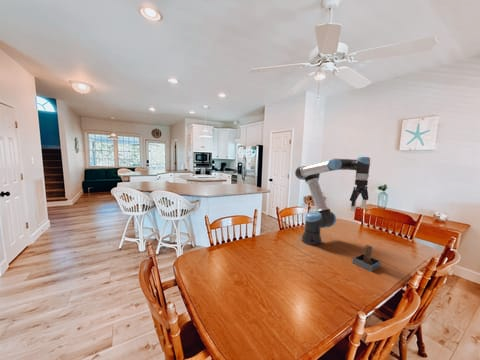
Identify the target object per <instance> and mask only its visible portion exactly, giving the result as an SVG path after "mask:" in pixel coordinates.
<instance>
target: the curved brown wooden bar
mask: <svg viewBox="0 0 480 360" xmlns="http://www.w3.org/2000/svg"><path fill="white" fill-rule="evenodd" d="M364 247H365V248H364V253H363V254H364V262H366V263H368V264H370V260H371V257H372V250H373V246H371V245H369V244H365V246H364Z"/></svg>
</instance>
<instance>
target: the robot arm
mask: <svg viewBox="0 0 480 360" xmlns="http://www.w3.org/2000/svg"><path fill="white" fill-rule="evenodd" d="M370 165H371V158H370V157H369V156H358V157H357V159H349V158H331V159H329V160H326V161H323V162H319V163H315V164H311V165H303V166H297V168H296V169H295V172H294V173H295V175H294V176H296V178H297V179H299V180H304V182H305V184H307V185H308V188H309V191H310V194H311V197H312V200H313V203H314V206H315V209H316V210H315V211H309V212H307V213H306V215H305V223H304V224H305V225H304V232H303V234H302V236H301V242H303V243H304V244H306V245H311V246H320V245H322V242H323V241H322V240H323V239H322V235H321V229H322V228H323V229H324V228H330V227H333V226H335V224H336V222H337V216H336V214H335V213H333V212H331V209H330V208H329V207H327V202H326V200H325V198H324V195H323V191H322V189H321V186H320V182H319V180H320V176H321V174H322V173H328V172H334V171H339V170H345V171H355V179H354V185H355V186H353V189H352V192H351V195H350V198H349V201H350V202H351V204H350V205H351V206H350V211H352V212H356V208H357V207H356V206H357V200H358V198H359V196H360V195H361V198H362V199H361V205H360V209H363V210H366V207H367V201H369V192H368V191H369V190H368V184H369V183H368V180H369V177H370V175H369V174H370V167H371V166H370Z"/></svg>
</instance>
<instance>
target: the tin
mask: <svg viewBox="0 0 480 360" xmlns="http://www.w3.org/2000/svg"><path fill="white" fill-rule="evenodd" d="M364 254H365V253H361V254H358V255H356V256H354V257H352V264H354V265H356V266H358V267H360V268H363V269H365V270H366V271H369V272H371V273H372V272H374V271H376V270H378V269H379V268H381V267H382V260H379V259H377V258H374V257H372V256H371V260H370V264H368V263H366V262H364Z"/></svg>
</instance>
